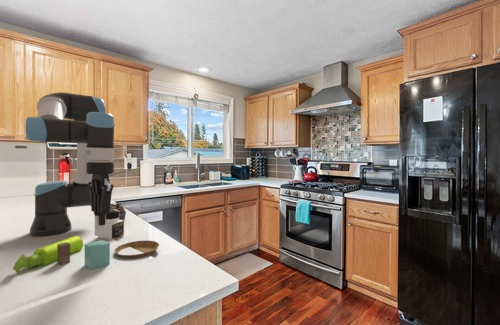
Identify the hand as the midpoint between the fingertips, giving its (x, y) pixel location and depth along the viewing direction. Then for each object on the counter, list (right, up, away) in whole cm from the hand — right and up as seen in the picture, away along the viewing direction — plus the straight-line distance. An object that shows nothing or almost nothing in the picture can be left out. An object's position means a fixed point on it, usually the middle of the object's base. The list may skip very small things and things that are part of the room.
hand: (100, 234), depth 78 cm
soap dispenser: (-16, -6, +12) cm, 21 cm away
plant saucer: (+7, -11, +10) cm, 16 cm away
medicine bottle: (-12, -10, +28) cm, 32 cm away
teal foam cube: (0, -9, -1) cm, 9 cm away
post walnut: (-12, -10, 0) cm, 15 cm away
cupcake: (-25, -9, +54) cm, 60 cm away
